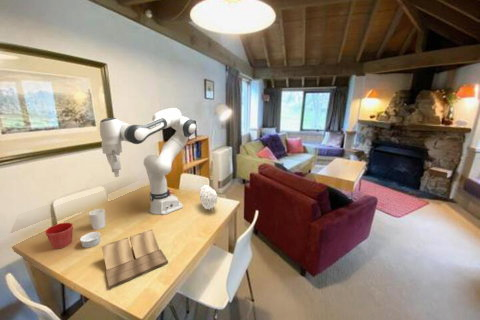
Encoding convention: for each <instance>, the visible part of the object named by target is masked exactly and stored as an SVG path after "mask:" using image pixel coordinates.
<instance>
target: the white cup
mask: <svg viewBox="0 0 480 320" xmlns="http://www.w3.org/2000/svg"><path fill="white" fill-rule="evenodd" d="M105 211H106V210H105V209H104V208H97V209H94V210H90V211H89V213H88V218H89V221H90V225H91V227H92V229H93V230H101V229H103V228H105V227H106V224H107V223H106V212H105Z"/></svg>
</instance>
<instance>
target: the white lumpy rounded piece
mask: <svg viewBox="0 0 480 320" xmlns="http://www.w3.org/2000/svg"><path fill="white" fill-rule="evenodd" d="M199 190H200V191H199V199H200V202H201V205H202V207H203V208H204V209H205V210H207V209H209V211H210V210H211V212H212V211H213V210H214V209H213V208H214V207H215V206H216V204H217V202H218V194H217V192H216V190H215V189H213V188H212V187H211V186H210V185H208V184H204V185H203V186H202V187H201V188H200V189H199ZM213 212H214V211H213Z"/></svg>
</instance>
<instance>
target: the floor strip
mask: <svg viewBox="0 0 480 320" xmlns="http://www.w3.org/2000/svg"><path fill="white" fill-rule="evenodd" d="M167 263H168V264H169V260H168V259H167V256H166V255H165V254H164V252H163V251H162V250H161V249H160V248H159V250H158V251H155V252H153V253H150V254H148V255H145V256H143V257H140V258H138V259H134V260H133V261H130V262H128V263H125V264H123V265H120V266H117V267H115V268H112V269H110V270H105V276H106V280H107V285H108V289H109V290H112V289H113V288H116V287H118V286H120V285H122V284H125V283H127V282H129V281H131V280H133V279H136V278H138V277H141V276H143V275H145V274H147V273H149V272H152V271H154V270H157V269H159V268H161V267H162V266H165V265H167Z"/></svg>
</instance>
